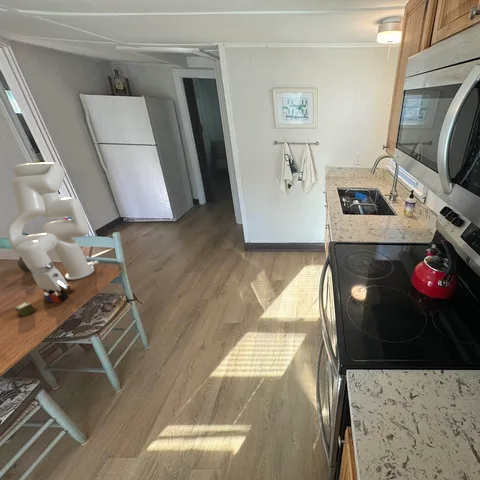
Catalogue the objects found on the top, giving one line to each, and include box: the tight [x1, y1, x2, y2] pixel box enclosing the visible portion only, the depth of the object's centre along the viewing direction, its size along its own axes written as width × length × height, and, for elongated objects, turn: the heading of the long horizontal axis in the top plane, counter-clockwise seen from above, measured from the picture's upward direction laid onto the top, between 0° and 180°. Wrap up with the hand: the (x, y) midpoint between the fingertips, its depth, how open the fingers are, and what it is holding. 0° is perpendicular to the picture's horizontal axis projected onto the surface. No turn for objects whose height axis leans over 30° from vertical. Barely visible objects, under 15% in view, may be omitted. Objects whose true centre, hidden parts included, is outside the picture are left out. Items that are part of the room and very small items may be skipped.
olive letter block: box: [14, 301, 36, 317], centre depth 120 cm, size 4×4×4 cm
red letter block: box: [49, 290, 62, 304], centre depth 125 cm, size 4×4×4 cm
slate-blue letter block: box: [42, 290, 55, 303], centre depth 128 cm, size 4×4×4 cm
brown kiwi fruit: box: [17, 255, 30, 272], centre depth 151 cm, size 7×7×9 cm
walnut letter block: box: [59, 284, 73, 295], centre depth 133 cm, size 4×4×4 cm
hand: (60, 298), depth 126 cm, fingers closed on red letter block, 4 cm apart
